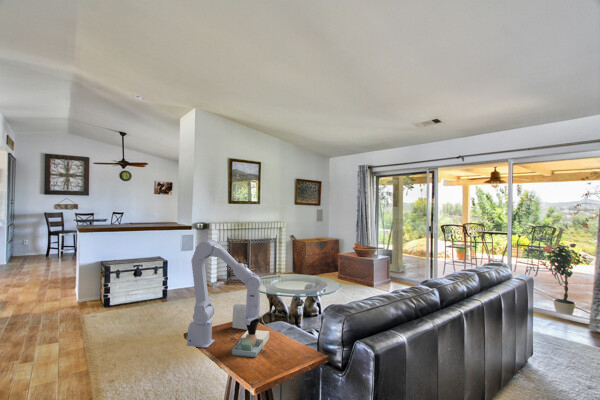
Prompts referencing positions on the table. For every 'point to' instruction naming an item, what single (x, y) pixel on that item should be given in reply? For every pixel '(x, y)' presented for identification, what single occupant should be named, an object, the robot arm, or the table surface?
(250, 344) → the sage tile
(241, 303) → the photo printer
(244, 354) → the box
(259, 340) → the cream square block
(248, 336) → the terracotta tile
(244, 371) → the table surface
